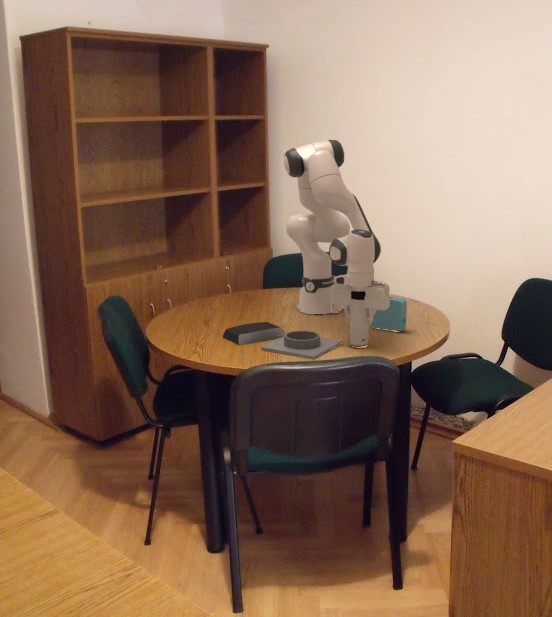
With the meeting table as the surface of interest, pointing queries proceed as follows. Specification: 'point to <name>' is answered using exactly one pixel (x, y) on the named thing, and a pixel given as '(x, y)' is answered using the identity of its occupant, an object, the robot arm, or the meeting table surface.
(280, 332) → the external hard drive
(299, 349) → the mug holder
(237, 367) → the meeting table surface
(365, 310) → the travel mug
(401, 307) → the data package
